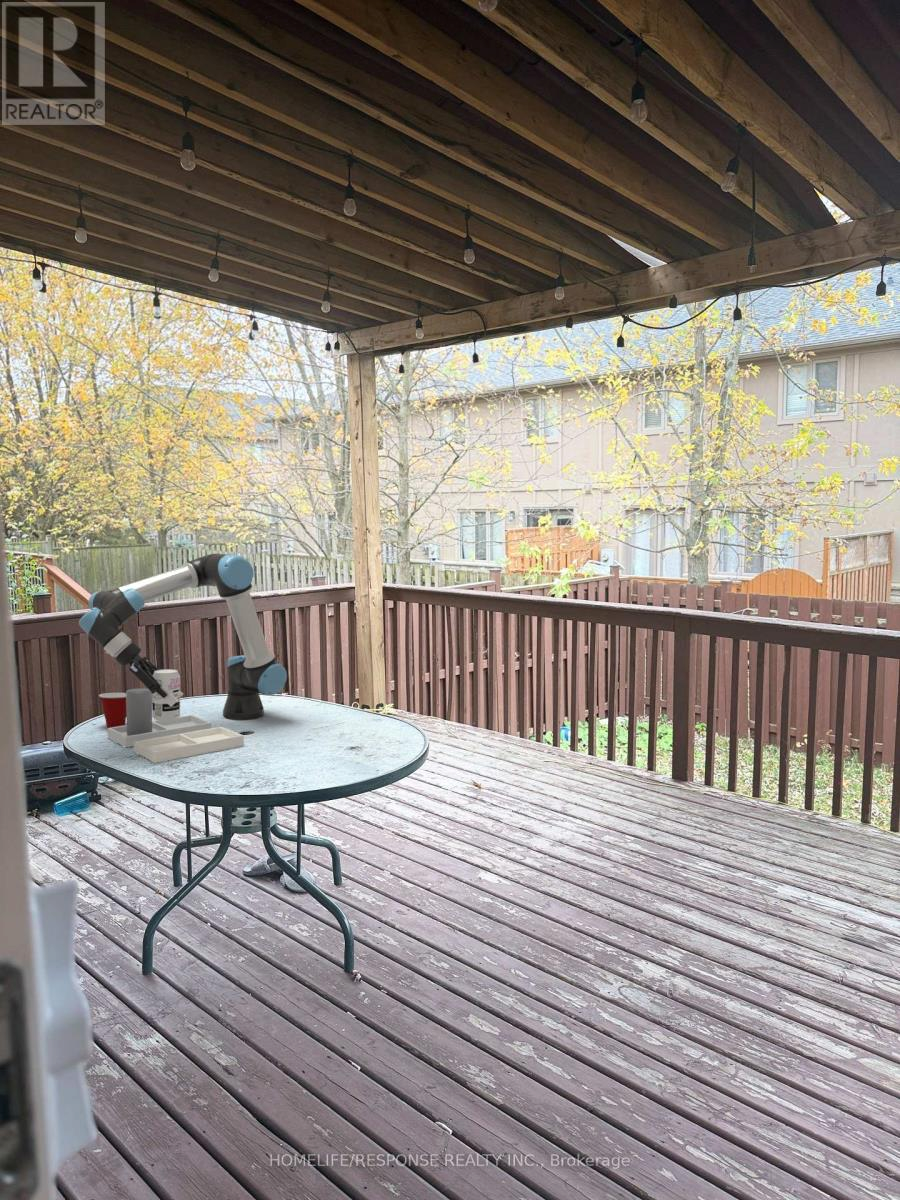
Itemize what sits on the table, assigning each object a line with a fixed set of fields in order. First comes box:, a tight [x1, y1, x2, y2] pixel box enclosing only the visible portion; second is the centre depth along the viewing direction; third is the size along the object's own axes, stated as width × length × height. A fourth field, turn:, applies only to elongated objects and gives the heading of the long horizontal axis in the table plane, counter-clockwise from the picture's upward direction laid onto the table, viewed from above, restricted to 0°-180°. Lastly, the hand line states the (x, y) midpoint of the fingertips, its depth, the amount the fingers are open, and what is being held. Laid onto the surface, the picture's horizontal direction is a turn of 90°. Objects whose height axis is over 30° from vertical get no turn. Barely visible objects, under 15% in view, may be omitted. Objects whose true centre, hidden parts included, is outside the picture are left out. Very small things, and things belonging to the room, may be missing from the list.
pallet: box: [133, 726, 245, 764], centre depth 257 cm, size 30×15×4 cm, turn 134°
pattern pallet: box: [107, 687, 213, 748], centre depth 272 cm, size 30×15×16 cm, turn 134°
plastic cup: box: [98, 692, 127, 729], centre depth 283 cm, size 11×11×12 cm
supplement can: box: [152, 668, 181, 721], centre depth 250 cm, size 8×8×15 cm
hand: (177, 700), depth 251 cm, fingers closed on supplement can, 8 cm apart
